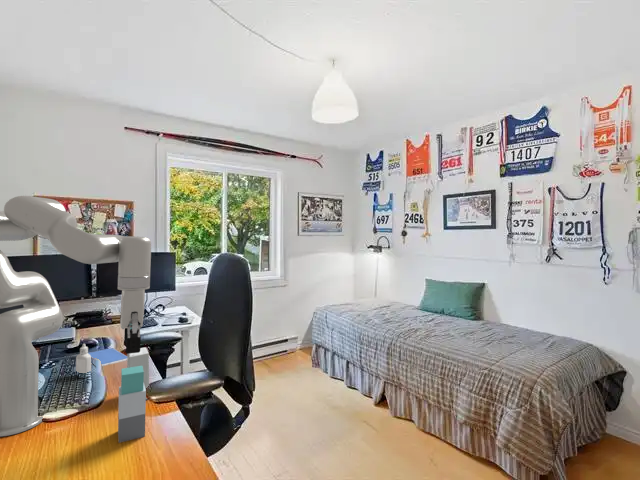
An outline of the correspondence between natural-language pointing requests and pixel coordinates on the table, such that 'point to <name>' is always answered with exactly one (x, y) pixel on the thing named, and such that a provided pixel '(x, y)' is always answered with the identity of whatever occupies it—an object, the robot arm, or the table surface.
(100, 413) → the table surface
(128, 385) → the teal block
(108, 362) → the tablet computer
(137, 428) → the tower base
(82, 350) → the eye dropper bottle
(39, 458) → the table surface
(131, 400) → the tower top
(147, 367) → the skincare box
